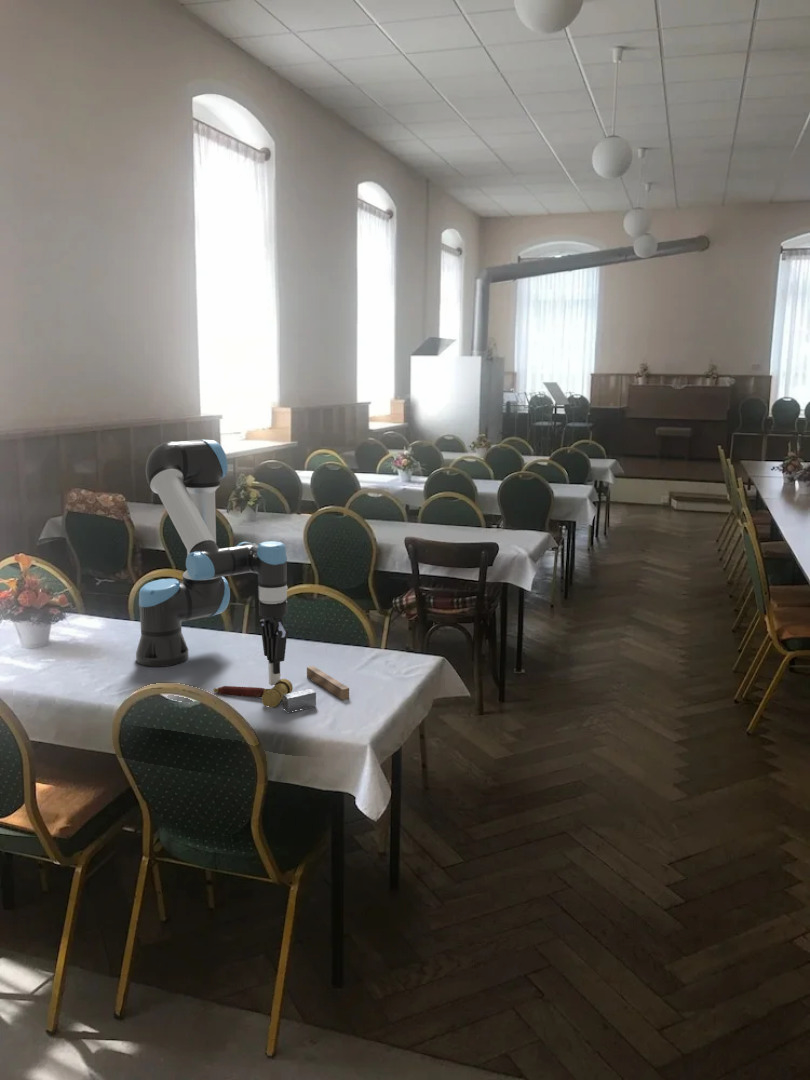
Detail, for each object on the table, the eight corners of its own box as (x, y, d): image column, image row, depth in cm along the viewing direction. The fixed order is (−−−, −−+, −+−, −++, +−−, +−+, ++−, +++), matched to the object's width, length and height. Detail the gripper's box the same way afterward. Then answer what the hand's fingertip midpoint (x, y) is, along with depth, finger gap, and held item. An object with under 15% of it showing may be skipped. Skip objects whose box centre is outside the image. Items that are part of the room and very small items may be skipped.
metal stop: (283, 709, 219) (282, 694, 219) (310, 702, 224) (310, 688, 223) (288, 713, 217) (288, 698, 216) (316, 706, 221) (315, 692, 221)
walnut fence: (306, 677, 242) (306, 667, 241) (313, 675, 243) (313, 665, 243) (342, 700, 226) (342, 689, 225) (349, 698, 227) (349, 687, 226)
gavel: (203, 688, 225) (221, 675, 235) (205, 705, 226) (223, 691, 235) (277, 692, 219) (292, 678, 229) (278, 709, 220) (293, 695, 230)
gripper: (296, 603, 224) (298, 688, 229) (274, 592, 234) (276, 673, 239) (270, 608, 220) (272, 694, 224) (249, 596, 230) (251, 679, 235)
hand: (274, 683), depth 232 cm, fingers closed
